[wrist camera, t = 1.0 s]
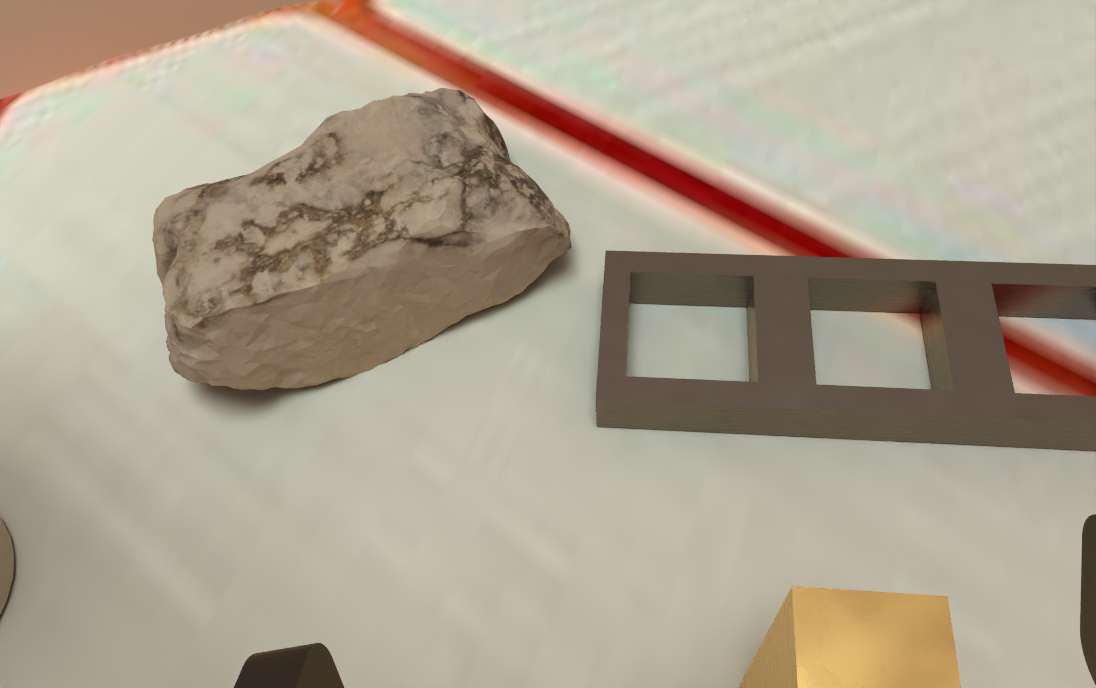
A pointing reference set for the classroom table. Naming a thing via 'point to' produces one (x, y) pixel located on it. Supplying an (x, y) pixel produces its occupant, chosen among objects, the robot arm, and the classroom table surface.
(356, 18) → the classroom table surface
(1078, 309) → the rail
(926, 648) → the golden brown rectangular block
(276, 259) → the decorative stone
